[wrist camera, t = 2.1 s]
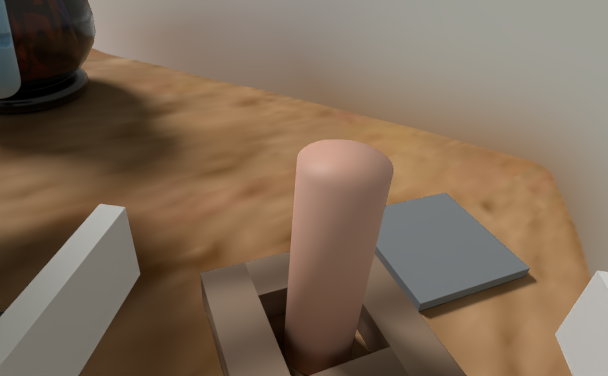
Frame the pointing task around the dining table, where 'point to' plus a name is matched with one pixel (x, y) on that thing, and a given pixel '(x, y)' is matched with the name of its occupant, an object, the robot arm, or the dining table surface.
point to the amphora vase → (49, 51)
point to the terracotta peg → (332, 248)
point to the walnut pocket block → (272, 301)
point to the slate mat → (441, 251)
